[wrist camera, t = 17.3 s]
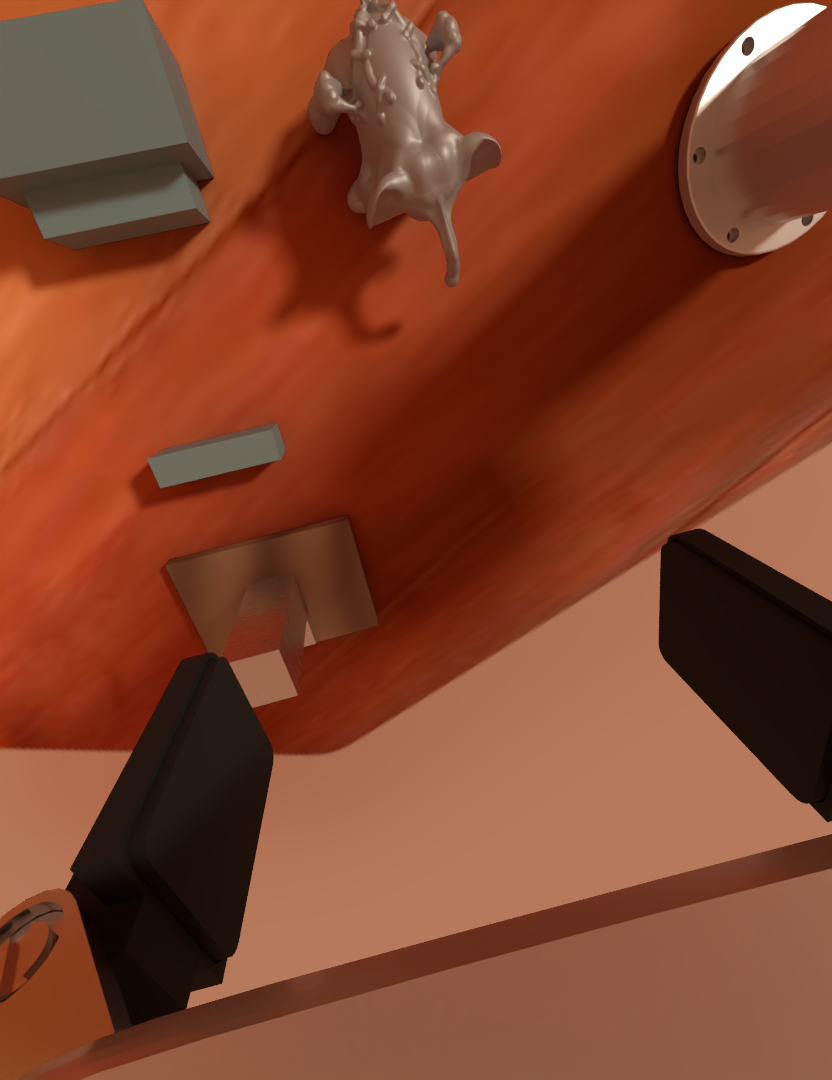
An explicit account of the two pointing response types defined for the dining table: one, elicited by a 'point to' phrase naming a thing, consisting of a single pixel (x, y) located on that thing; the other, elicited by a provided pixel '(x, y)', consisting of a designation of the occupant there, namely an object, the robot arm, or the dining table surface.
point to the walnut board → (308, 551)
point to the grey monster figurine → (401, 120)
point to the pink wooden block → (270, 639)
